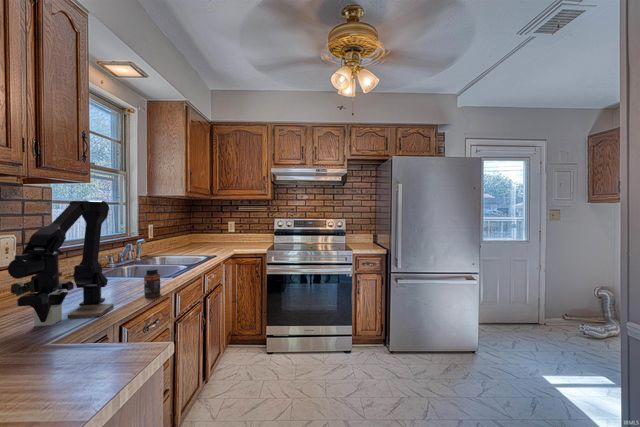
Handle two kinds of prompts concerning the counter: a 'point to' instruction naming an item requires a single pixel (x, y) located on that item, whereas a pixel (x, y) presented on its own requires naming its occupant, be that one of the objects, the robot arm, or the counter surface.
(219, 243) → the counter surface
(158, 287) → the supplement bottle
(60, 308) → the cube
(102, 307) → the brown square tile
